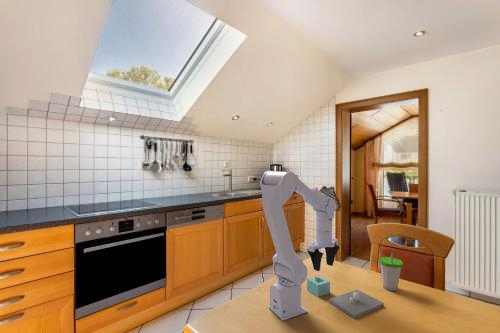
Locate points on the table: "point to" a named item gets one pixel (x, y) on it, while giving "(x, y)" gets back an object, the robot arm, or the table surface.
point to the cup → (390, 272)
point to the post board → (356, 303)
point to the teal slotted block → (318, 286)
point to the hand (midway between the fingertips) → (323, 267)
